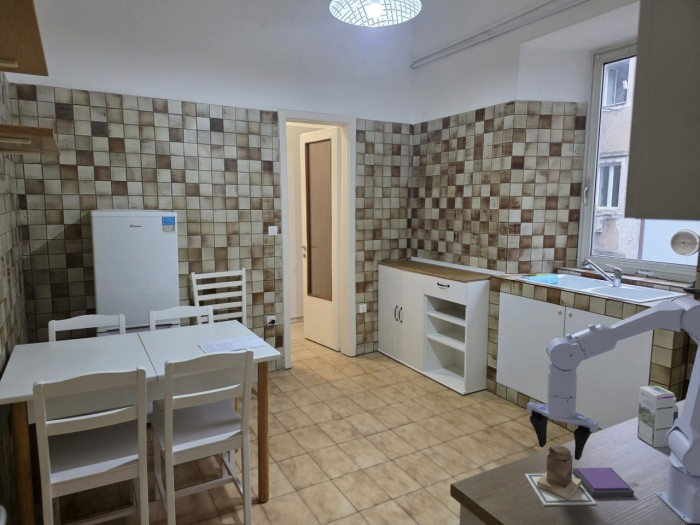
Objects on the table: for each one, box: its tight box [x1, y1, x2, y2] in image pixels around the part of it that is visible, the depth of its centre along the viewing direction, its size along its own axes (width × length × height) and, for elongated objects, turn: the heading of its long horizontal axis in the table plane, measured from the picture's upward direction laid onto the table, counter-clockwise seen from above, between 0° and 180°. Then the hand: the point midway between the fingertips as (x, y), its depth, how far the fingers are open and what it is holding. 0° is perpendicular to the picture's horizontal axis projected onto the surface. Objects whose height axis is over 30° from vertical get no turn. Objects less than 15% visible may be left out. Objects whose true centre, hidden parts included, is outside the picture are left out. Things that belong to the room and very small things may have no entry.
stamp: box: [537, 445, 582, 500], centre depth 102 cm, size 7×7×9 cm
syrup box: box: [636, 384, 675, 448], centre depth 120 cm, size 6×6×14 cm
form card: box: [524, 473, 597, 506], centre depth 102 cm, size 11×11×1 cm
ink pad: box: [572, 467, 635, 498], centre depth 104 cm, size 9×9×2 cm
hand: (559, 451), depth 101 cm, fingers open, 7 cm apart
